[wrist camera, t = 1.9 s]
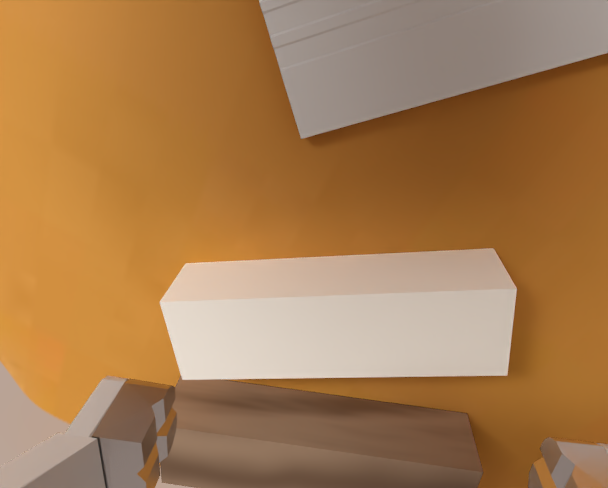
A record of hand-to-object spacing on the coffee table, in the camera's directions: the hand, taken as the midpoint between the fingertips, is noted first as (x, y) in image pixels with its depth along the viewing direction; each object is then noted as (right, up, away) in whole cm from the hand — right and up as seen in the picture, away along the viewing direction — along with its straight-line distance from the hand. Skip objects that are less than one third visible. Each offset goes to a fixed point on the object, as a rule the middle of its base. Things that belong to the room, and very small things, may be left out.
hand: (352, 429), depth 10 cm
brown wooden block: (0, -10, +27) cm, 28 cm away
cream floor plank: (+1, +1, +21) cm, 21 cm away
